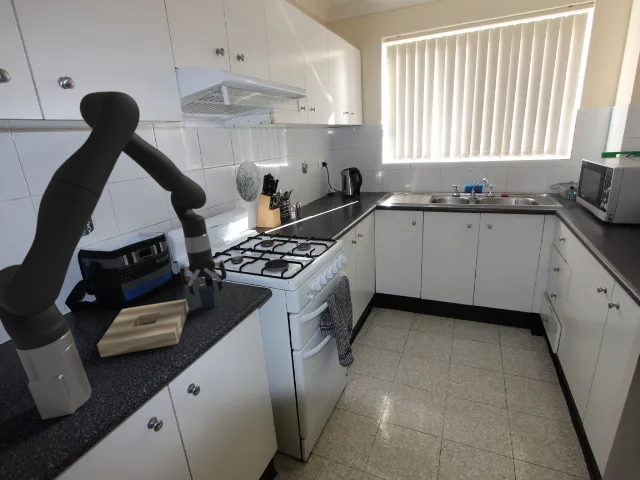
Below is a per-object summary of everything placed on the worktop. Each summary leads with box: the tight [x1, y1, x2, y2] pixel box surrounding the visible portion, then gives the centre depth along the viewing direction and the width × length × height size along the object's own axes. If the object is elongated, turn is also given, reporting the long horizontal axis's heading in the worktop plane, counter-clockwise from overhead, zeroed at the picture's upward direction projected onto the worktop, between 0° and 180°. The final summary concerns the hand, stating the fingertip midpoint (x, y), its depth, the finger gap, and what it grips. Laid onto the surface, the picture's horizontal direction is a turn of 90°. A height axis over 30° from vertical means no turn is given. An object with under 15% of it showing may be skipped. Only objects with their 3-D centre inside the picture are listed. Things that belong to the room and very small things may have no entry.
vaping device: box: [198, 276, 218, 309], centre depth 114 cm, size 3×5×12 cm, turn 89°
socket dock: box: [96, 298, 190, 358], centre depth 103 cm, size 20×20×4 cm
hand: (207, 292), depth 114 cm, fingers open, 8 cm apart
